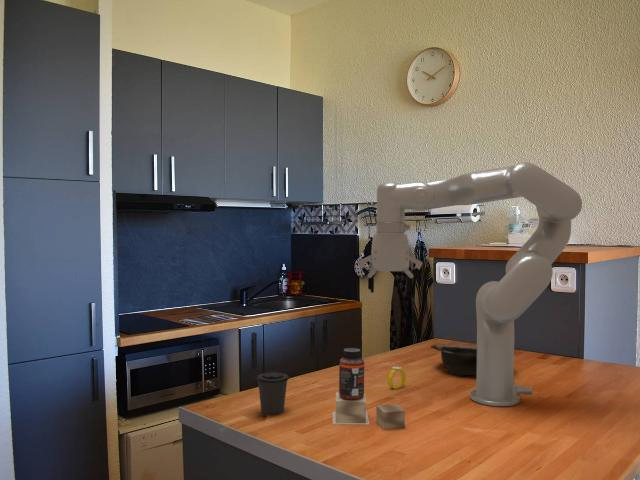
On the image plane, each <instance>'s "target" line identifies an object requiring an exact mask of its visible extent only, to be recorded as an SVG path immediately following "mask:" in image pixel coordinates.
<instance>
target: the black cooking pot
mask: <svg viewBox="0 0 640 480" xmlns="http://www.w3.org/2000/svg"><path fill="white" fill-rule="evenodd" d="M430 348H431V349H434V350H435V351H440V352H441V353H440V354H441V360H442V361H441V362H442V363H443V365H444V366H446V367H447V368H448V372H449V374H451V375H453V376H458V377H459V376H460V377H461V376H464V377H465V376H476V369H477V346H474V345H469V346H468V345H467V346H465V345H453V344H452V345H446V344H444V345H443V344H441V345H435V344H434V345H431V347H430Z"/></svg>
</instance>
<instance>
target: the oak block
mask: <svg viewBox="0 0 640 480" xmlns="http://www.w3.org/2000/svg"><path fill="white" fill-rule="evenodd" d="M375 412H376V424H377V425H378V426H379V427H380V428H381V429H382V430H383V431H387V430H388V431H389V430H399V429H400V430H402V429H405V428H406V427H405V425H406V424H405V423H406V421H405V420H406V419H405V418H406V411H405V410H404V408H402V407H401V406H400V405H398V404H397V403H390V404H379V405H376V411H375Z"/></svg>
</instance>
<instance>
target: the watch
mask: <svg viewBox="0 0 640 480" xmlns="http://www.w3.org/2000/svg"><path fill="white" fill-rule="evenodd" d="M396 372H400V375H401V376H400V377H401V378H400V382H399V384H397V385H395V386H394V384H393V377H394V375H395V373H396ZM387 382H388V383H387V384H388V386H389V387H390V388H391V389H393V390H397V389H401V388H403V387H404V385H405V382H406V372H405V371H404V369H403V368H402V367H401V366H392V367H391V370H390V372H389V374H388V376H387Z"/></svg>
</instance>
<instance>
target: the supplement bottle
mask: <svg viewBox="0 0 640 480" xmlns="http://www.w3.org/2000/svg"><path fill="white" fill-rule="evenodd" d="M338 365H339V367H338V368H339V372H338V373H339V374H338V377H339V378H338V380H339V381H338V392H339V395H340V397H341V398H343V399H348V400H357V399H361V398H362V397H363V396H364V393H365V360H364V359H363V358H362V356H361V349H360V348H355V347H349V348H348V347H347V348H344V349H343V357H341V358H340V359H339V364H338Z"/></svg>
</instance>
